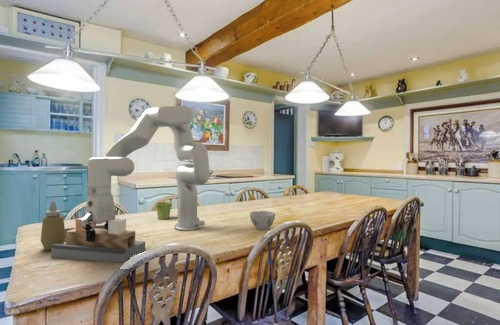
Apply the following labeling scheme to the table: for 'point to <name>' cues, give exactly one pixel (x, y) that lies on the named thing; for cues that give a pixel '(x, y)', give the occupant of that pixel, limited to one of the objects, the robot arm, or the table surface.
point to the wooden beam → (101, 239)
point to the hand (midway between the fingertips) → (100, 237)
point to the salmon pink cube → (80, 225)
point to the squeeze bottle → (52, 228)
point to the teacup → (262, 219)
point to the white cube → (116, 226)
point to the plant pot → (163, 209)
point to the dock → (96, 252)
